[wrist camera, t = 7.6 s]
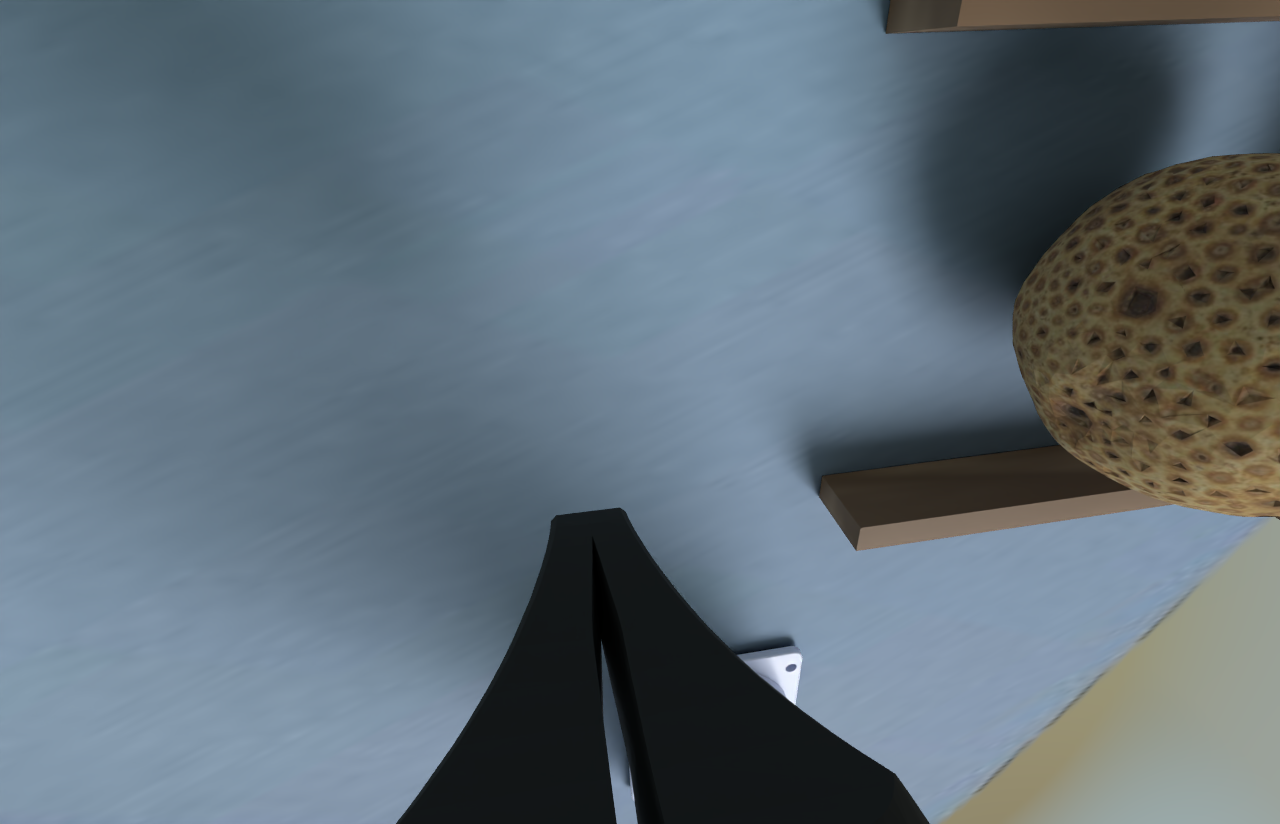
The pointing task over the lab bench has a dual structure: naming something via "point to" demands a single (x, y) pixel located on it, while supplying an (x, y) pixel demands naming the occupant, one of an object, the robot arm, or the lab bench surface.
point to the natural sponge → (1166, 335)
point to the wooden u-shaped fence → (1022, 479)
